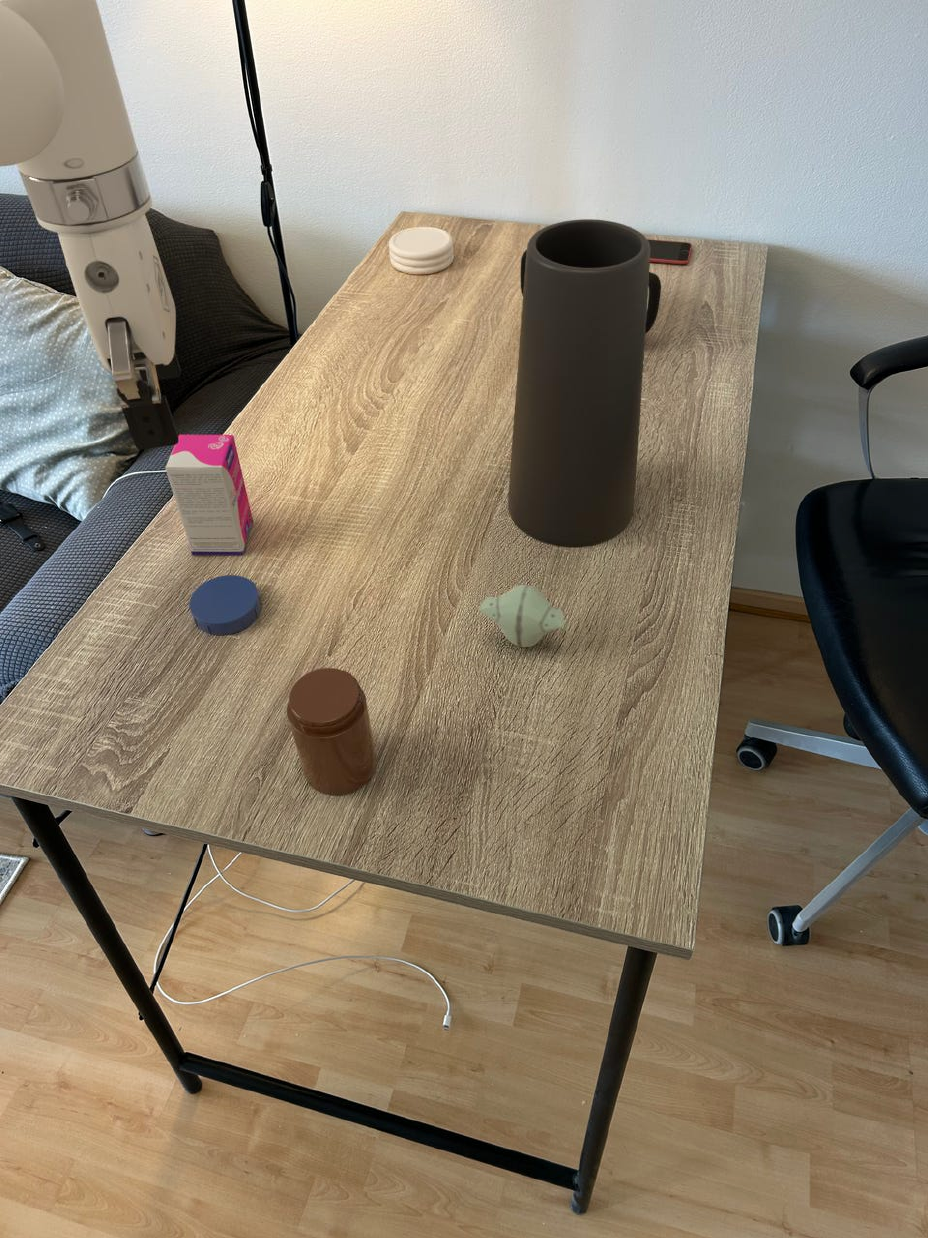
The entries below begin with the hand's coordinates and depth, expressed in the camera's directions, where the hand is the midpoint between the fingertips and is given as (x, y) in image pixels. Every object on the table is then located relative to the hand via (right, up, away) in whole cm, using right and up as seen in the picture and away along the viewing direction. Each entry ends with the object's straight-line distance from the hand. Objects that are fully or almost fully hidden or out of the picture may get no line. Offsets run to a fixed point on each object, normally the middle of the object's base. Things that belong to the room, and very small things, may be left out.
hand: (160, 409), depth 72 cm
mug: (+41, +22, +51) cm, 69 cm away
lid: (+1, -15, +16) cm, 22 cm away
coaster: (+18, +39, +69) cm, 81 cm away
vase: (+36, -4, +27) cm, 45 cm away
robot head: (+30, -19, +13) cm, 38 cm away
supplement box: (-1, -8, +25) cm, 26 cm away
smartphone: (+52, +40, +68) cm, 95 cm away
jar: (+14, -29, +4) cm, 32 cm away
